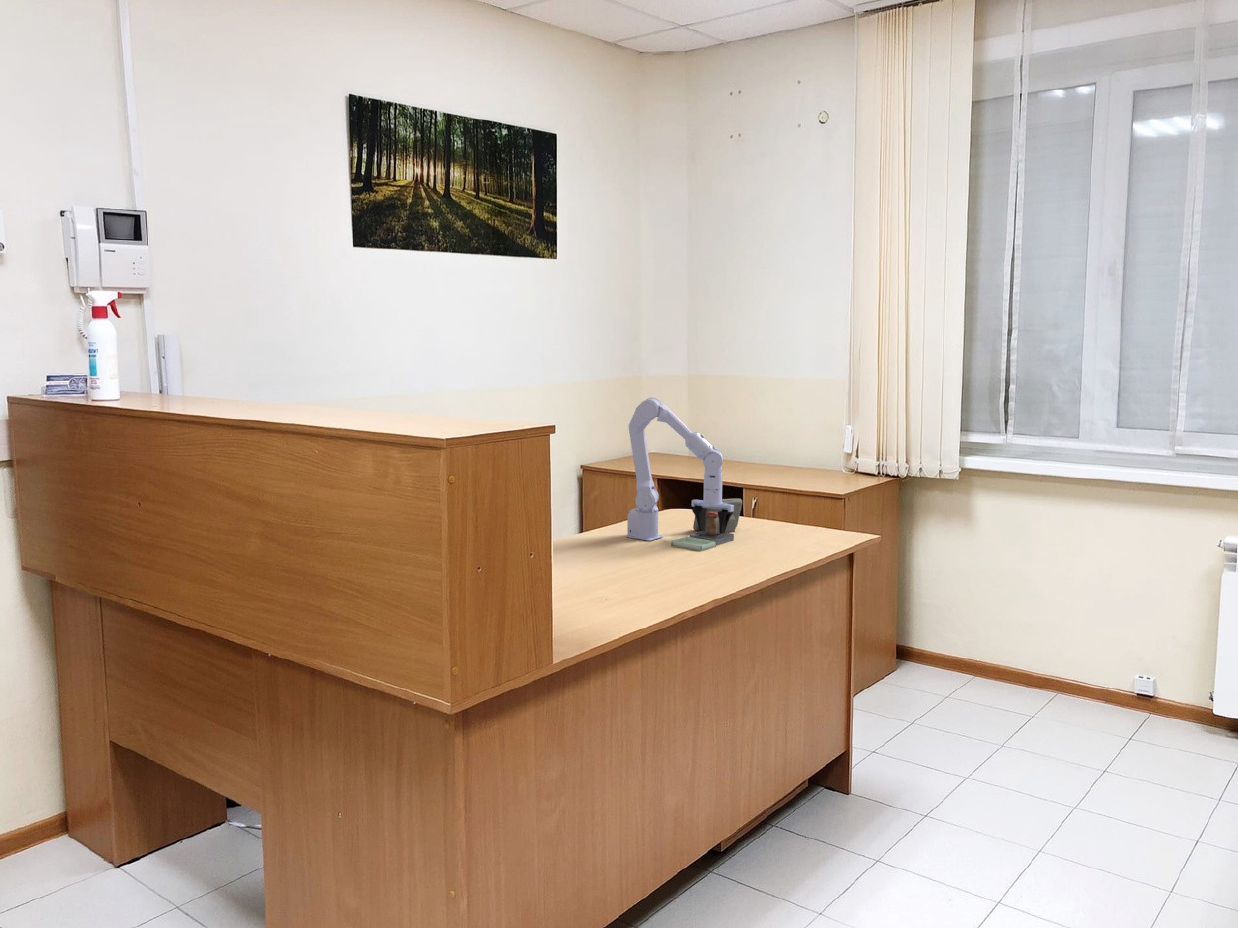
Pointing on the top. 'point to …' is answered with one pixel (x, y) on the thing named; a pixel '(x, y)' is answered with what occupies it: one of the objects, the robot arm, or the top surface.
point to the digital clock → (732, 521)
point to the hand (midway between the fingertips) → (712, 531)
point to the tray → (693, 543)
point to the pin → (712, 523)
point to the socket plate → (714, 537)
